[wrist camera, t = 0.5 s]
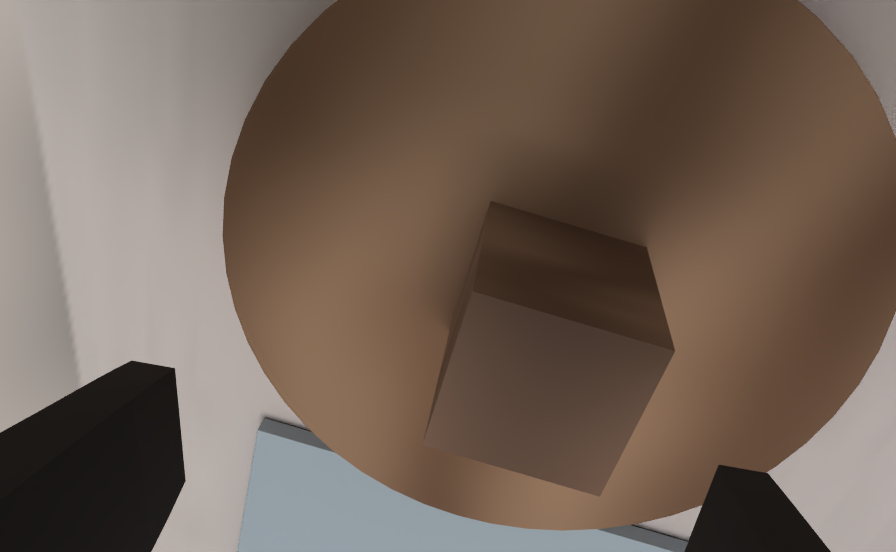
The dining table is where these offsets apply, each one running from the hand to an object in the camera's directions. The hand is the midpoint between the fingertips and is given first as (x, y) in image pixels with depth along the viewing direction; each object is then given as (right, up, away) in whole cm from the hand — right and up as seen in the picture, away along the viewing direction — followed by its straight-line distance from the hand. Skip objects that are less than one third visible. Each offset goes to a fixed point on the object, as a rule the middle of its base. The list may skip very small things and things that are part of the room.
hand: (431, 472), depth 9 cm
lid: (+2, +3, +7) cm, 8 cm away
